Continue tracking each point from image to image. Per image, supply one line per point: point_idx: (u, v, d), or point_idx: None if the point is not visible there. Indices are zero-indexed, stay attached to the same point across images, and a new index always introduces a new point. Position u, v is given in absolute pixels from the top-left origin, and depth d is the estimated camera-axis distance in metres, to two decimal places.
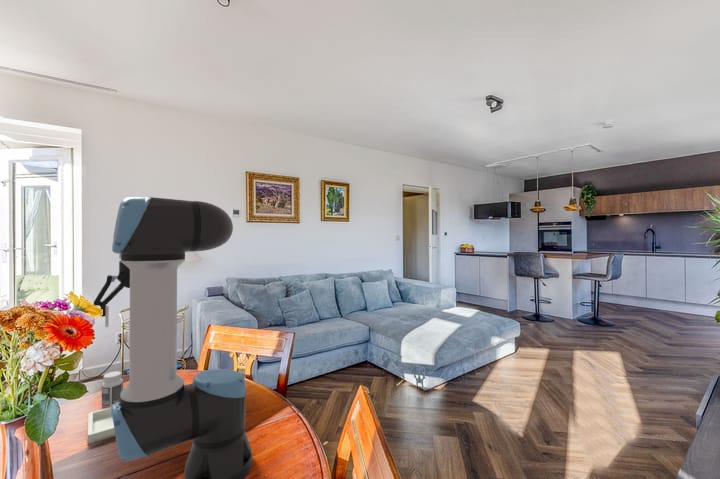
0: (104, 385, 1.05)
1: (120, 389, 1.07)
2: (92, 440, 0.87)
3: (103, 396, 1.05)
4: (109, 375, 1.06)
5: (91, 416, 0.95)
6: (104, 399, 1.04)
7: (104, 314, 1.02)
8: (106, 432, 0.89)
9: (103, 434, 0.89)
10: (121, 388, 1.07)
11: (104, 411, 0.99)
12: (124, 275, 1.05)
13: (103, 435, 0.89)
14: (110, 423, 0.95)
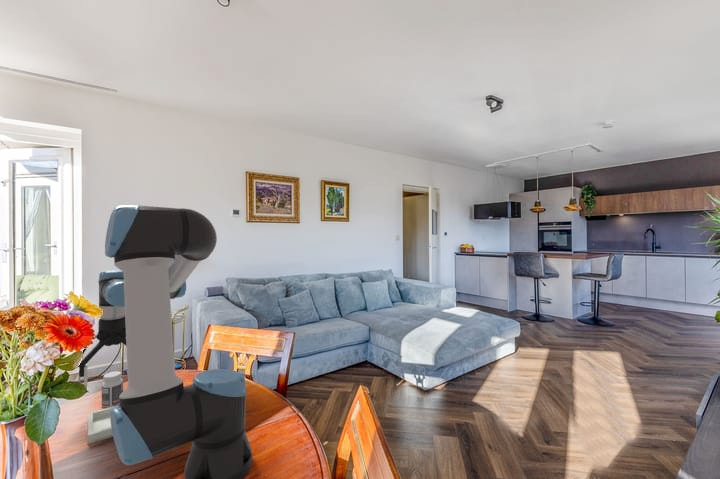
0: (104, 385, 1.05)
1: (120, 389, 1.07)
2: (92, 440, 0.87)
3: (103, 396, 1.05)
4: (109, 375, 1.06)
5: (91, 416, 0.95)
6: (104, 399, 1.04)
7: (83, 374, 1.02)
8: (106, 432, 0.89)
9: (103, 434, 0.89)
10: (121, 388, 1.07)
11: (104, 411, 0.99)
12: (103, 334, 1.05)
13: (103, 435, 0.89)
14: (110, 423, 0.95)
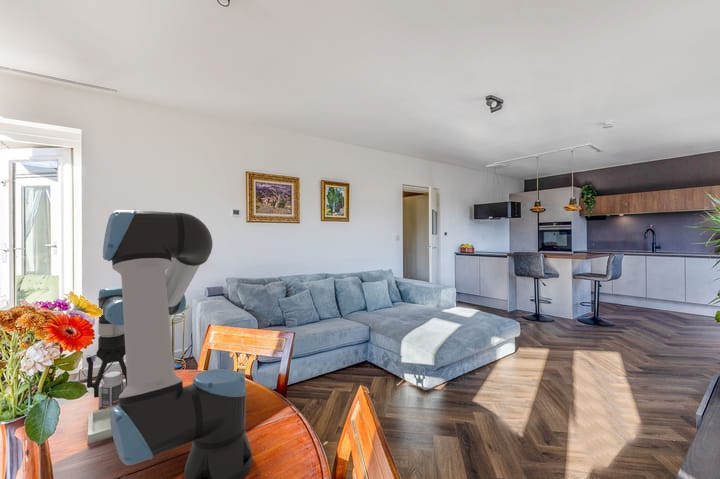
0: (104, 385, 1.05)
1: (120, 389, 1.07)
2: (92, 440, 0.87)
3: (103, 396, 1.05)
4: (109, 375, 1.06)
5: (91, 416, 0.95)
6: (104, 399, 1.04)
7: (97, 395, 1.04)
8: (106, 432, 0.89)
9: (103, 434, 0.89)
10: (121, 388, 1.07)
11: (104, 411, 0.99)
12: (102, 351, 1.04)
13: (103, 435, 0.89)
14: (110, 423, 0.95)
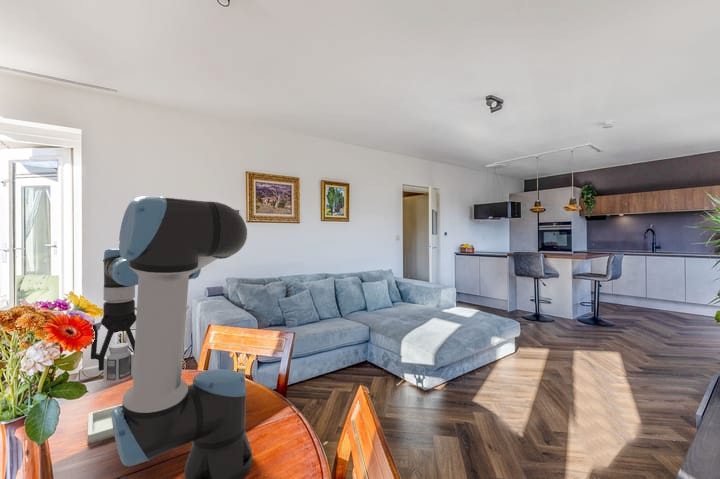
0: (110, 357, 0.93)
1: (128, 362, 0.96)
2: (92, 440, 0.87)
3: (108, 369, 0.93)
4: (116, 346, 0.95)
5: (91, 416, 0.95)
6: (110, 372, 0.93)
7: (102, 368, 0.93)
8: (106, 432, 0.89)
9: (103, 434, 0.89)
10: (129, 361, 0.96)
11: (104, 411, 0.99)
12: (108, 318, 0.93)
13: (103, 435, 0.89)
14: (110, 423, 0.95)
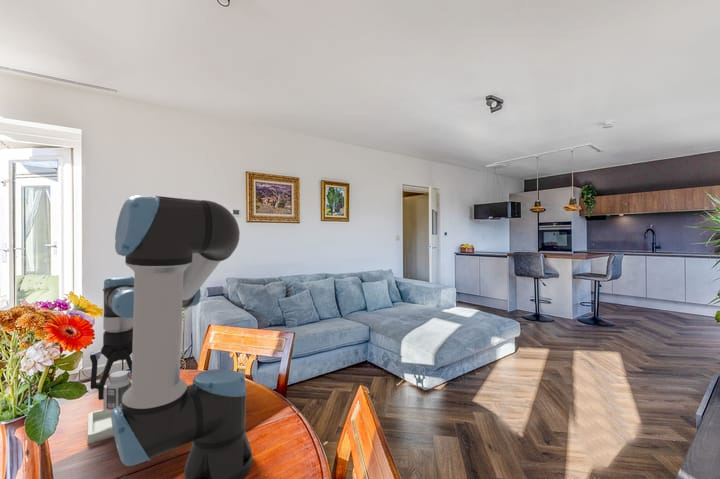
0: (110, 386, 0.94)
1: None
2: (92, 440, 0.87)
3: (108, 398, 0.93)
4: (115, 374, 0.95)
5: (91, 416, 0.95)
6: (109, 401, 0.93)
7: (102, 397, 0.93)
8: (106, 432, 0.89)
9: (103, 434, 0.89)
10: None
11: (104, 411, 0.99)
12: (107, 347, 0.93)
13: (103, 435, 0.89)
14: (110, 423, 0.95)
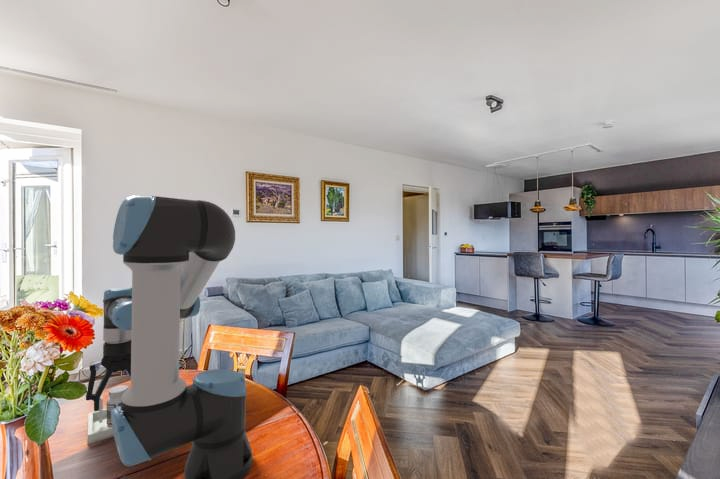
0: (109, 401, 0.93)
1: None
2: (92, 440, 0.87)
3: (108, 414, 0.93)
4: (115, 389, 0.95)
5: (91, 416, 0.95)
6: (109, 417, 0.93)
7: (98, 408, 0.93)
8: (106, 432, 0.89)
9: (103, 434, 0.89)
10: None
11: (104, 411, 0.99)
12: (108, 359, 0.94)
13: (103, 435, 0.89)
14: None
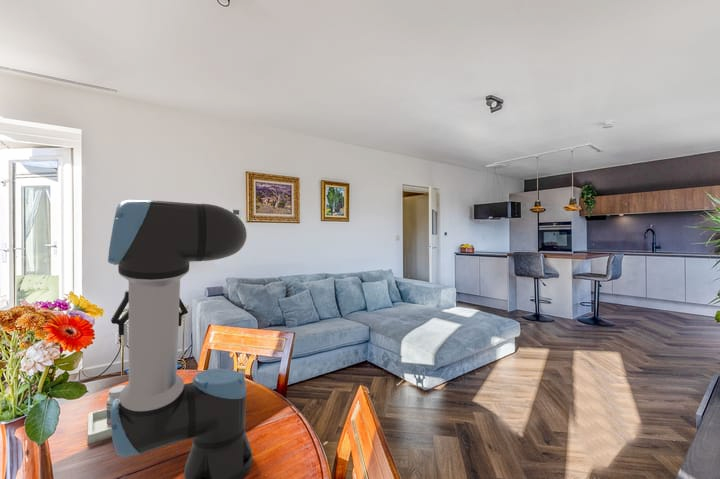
0: (109, 401, 0.93)
1: None
2: (92, 440, 0.87)
3: (108, 414, 0.93)
4: (115, 389, 0.95)
5: (91, 416, 0.95)
6: (109, 417, 0.93)
7: (122, 333, 0.96)
8: (106, 432, 0.89)
9: (103, 434, 0.89)
10: None
11: (104, 411, 0.99)
12: None
13: (103, 435, 0.89)
14: None
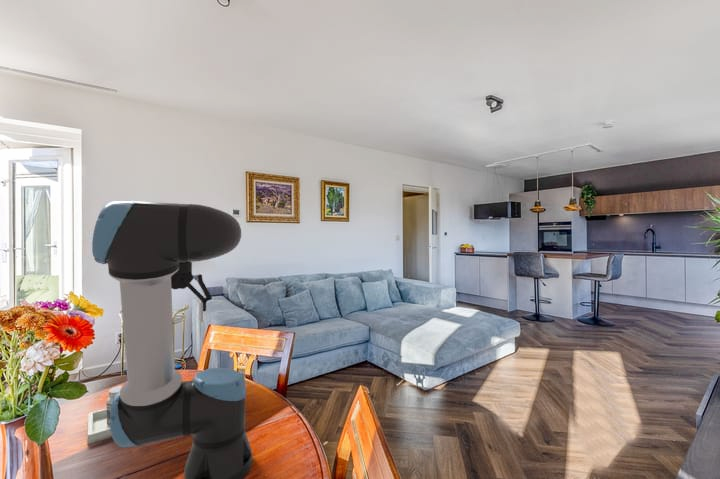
0: (109, 401, 0.93)
1: None
2: (92, 440, 0.87)
3: (108, 414, 0.93)
4: (115, 389, 0.95)
5: (91, 416, 0.95)
6: (109, 417, 0.93)
7: None
8: (106, 432, 0.89)
9: (103, 434, 0.89)
10: None
11: (104, 411, 0.99)
12: (171, 276, 1.05)
13: (103, 435, 0.89)
14: None
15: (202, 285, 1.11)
